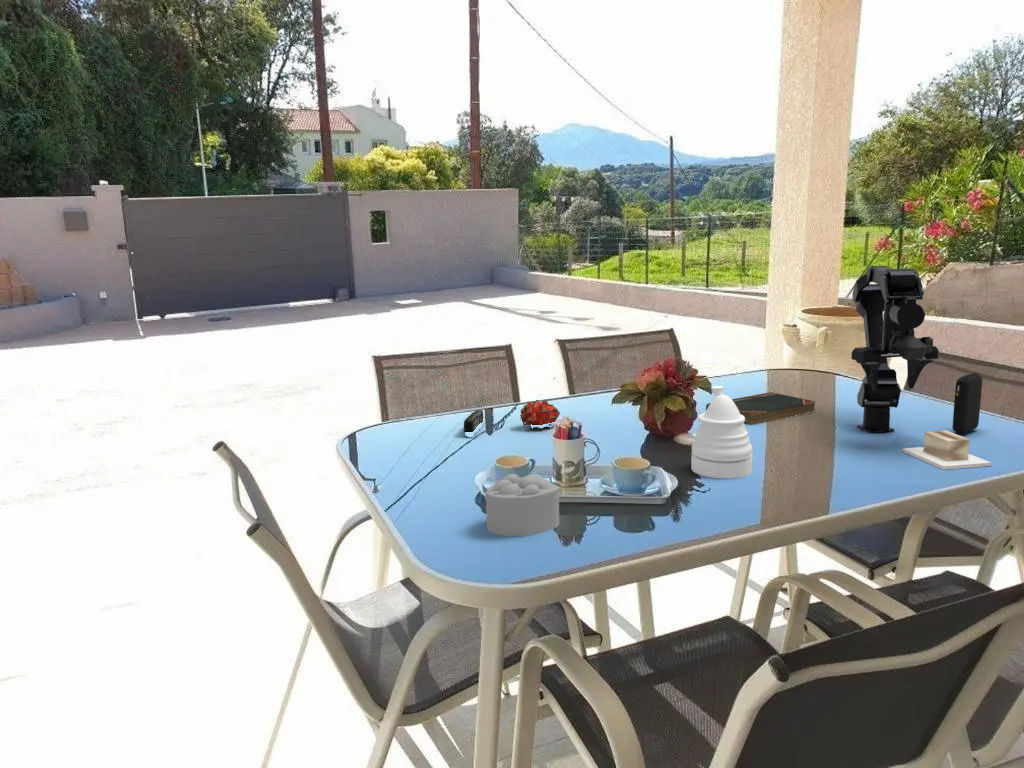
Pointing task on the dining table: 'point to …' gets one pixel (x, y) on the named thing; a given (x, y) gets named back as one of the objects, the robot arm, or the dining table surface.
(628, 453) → the dining table surface
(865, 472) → the dining table surface
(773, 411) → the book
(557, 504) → the lumpy-topped squat cylinder
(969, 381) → the carrying case or bag
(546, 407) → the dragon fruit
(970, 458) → the mat
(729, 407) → the honey pot
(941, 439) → the tan rectangular block
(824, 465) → the dining table surface
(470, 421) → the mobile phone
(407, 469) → the dining table surface
